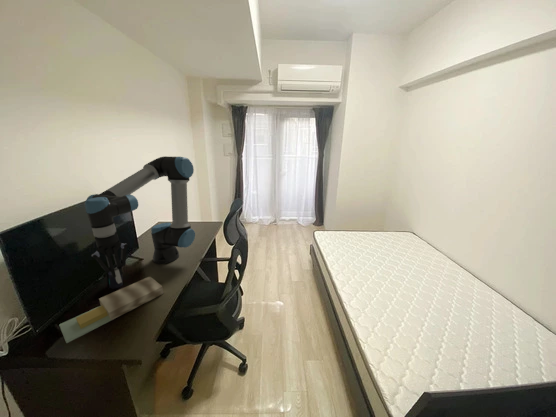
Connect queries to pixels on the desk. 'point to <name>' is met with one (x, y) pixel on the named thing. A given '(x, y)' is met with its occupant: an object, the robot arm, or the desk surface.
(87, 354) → the desk surface
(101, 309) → the yellow flat block
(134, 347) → the desk surface
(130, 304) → the deck
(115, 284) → the speaker
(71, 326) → the mat
